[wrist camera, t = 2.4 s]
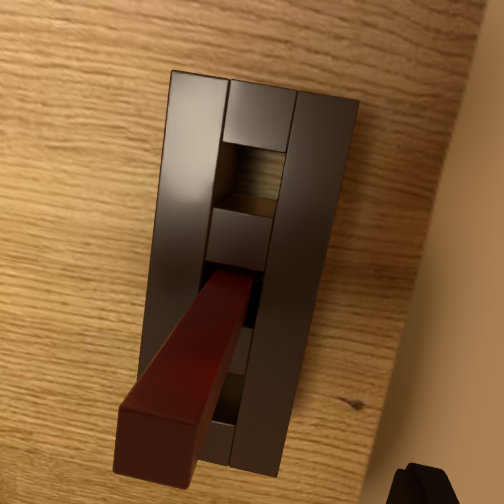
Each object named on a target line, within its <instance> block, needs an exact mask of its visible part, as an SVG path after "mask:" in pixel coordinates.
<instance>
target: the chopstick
mask: <svg viewBox="0 0 504 504" xmlns="http://www.w3.org/2000/svg"><path fill="white" fill-rule="evenodd" d="M259 272H260V271H255V270H250V269H245V268H240V267H235V266H230V265H224V264H219V266H218V267H217V269H216V270H215V271H214V273H213V274H212V276H211V277H210V279H209V280H208V281H207V283H206V284H205V286H204V287H203V288H202V290H201V291H200V293H199V294H198V296H197V297H196V298H195V300H194V301H193V303H192V304H191V305H190V307H189V308H188V310H187V311H186V313H185V314H184V315H183V317H182V318H181V320H180V321H179V322H178V324H177V325H176V327H175V328H174V330H173V331H172V332H171V334H170V335H169V337H168V338H167V339H166V341H165V342H164V344H163V345H162V347H161V348H160V349H159V351H158V352H157V354H156V355H155V356H154V358H153V359H152V361H151V362H150V364H149V365H148V366H147V368H146V369H145V371H144V372H143V373H142V375H141V376H140V378H139V379H138V381H137V382H136V383H135V385H134V386H133V388H132V389H131V390H130V392H129V393H128V395H127V396H126V397H125V399H124V400H123V402H122V403H121V405H120V406H119V410H118V420H117V430H116V440H115V450H114V460H113V472H114V473H115V474H119V475H124V476H128V477H132V478H136V479H141V480H145V481H149V482H153V483H158V484H162V485H166V486H170V487H175V488H179V489H183V490H186V489H187V488H188V487H189V485H190V482H191V479H192V476H193V473H194V470H195V467H196V464H197V461H198V458H199V455H200V452H201V449H202V446H203V443H204V440H205V437H206V434H207V431H208V428H209V425H210V422H211V419H212V416H213V413H214V410H215V407H216V404H217V401H218V398H219V395H220V392H221V389H222V386H223V383H224V380H225V377H226V374H227V371H228V368H229V365H230V362H231V359H232V356H233V353H234V350H235V347H236V344H237V341H238V338H239V335H240V332H241V329H242V326H243V323H244V320H245V317H246V314H247V311H248V308H249V305H250V302H251V299H252V296H253V293H254V290H255V288H256V285H257V282H258V278H259Z"/></svg>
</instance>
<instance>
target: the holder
mask: <svg viewBox="0 0 504 504" xmlns="http://www.w3.org/2000/svg"><path fill="white" fill-rule="evenodd" d="M359 104H360V101H359V100H356V99H350V98H343V97H337V96H331V95H325V94H319V93H313V92H307V91H301V90H299V91H298V92H297V90H295V89H289V88H283V87H277V86H271V85H265V84H259V83H253V82H247V81H240V80H234V79H231V80H230V79H227V78H221V77H215V76H209V75H203V74H197V73H191V72H185V71H179V70H172V71H171V75H170V84H169V93H168V102H167V111H166V120H165V129H164V138H163V147H162V156H161V165H160V174H159V183H158V192H157V202H156V211H155V220H154V229H153V238H152V247H151V256H150V265H149V274H148V283H147V292H146V301H145V310H144V319H143V328H142V337H141V346H140V355H139V364H138V373H137V381H138V379H139V378H140V376H141V375H142V373H143V372H144V371H145V369H146V368H147V366H148V365H149V364H150V362H151V361H152V359H153V358H154V356H155V355H156V354H157V352H158V351H159V349H160V348H161V347H162V345H163V344H164V342H165V341H166V339H167V338H168V337H169V335H170V334H171V332H172V331H173V330H174V328H175V327H176V325H177V324H178V322H179V321H180V320H181V318H182V317H183V315H184V314H185V313H186V311H187V310H188V308H189V307H190V305H191V304H192V303H193V301H194V300H195V298H196V297H197V296H198V294H199V293H200V291H201V290H202V288H203V287H204V286H205V284H206V283H207V281H208V280H209V279H210V277H211V276H212V274H213V273H214V271H215V270H216V269H217V267H218V266H219V264H224V265H230V266H235V267H240V268H245V269H250V270H255V271H260V272H264V276H263V282H262V287H261V289H259V288H255V290H254V293H253V296H252V299H251V302H250V305H249V308H248V311H247V314H246V317H245V320H244V323H243V326H242V329H241V332H240V335H239V338H238V341H237V344H236V347H235V350H234V353H233V356H232V359H231V362H230V365H229V368H228V371H227V374H226V377H225V380H224V383H223V386H222V389H221V392H220V395H219V398H218V401H217V404H216V407H215V410H214V413H213V416H212V419H211V422H210V425H209V428H208V431H207V434H206V437H205V440H204V443H203V446H202V449H201V452H200V455H199V458H198V460H202V461H206V462H210V463H215V464H219V465H223V466H228V465H229V467H231V468H236V469H240V470H244V471H249V472H253V473H257V474H262V475H266V476H270V477H275V478H277V476H278V471H279V467H280V462H281V458H282V453H283V448H284V444H285V439H286V435H287V430H288V426H289V421H290V417H291V412H292V408H293V403H294V399H295V394H296V389H297V385H298V380H299V376H300V371H301V367H302V362H303V358H304V353H305V349H306V344H307V340H308V335H309V331H310V326H311V321H312V317H313V312H314V308H315V303H316V299H317V294H318V290H319V285H320V281H321V276H322V272H323V267H324V262H325V258H326V253H327V249H328V244H329V240H330V235H331V231H332V226H333V222H334V217H335V213H336V208H337V204H338V199H339V194H340V190H341V185H342V181H343V176H344V172H345V167H346V163H347V158H348V154H349V149H350V145H351V140H352V135H353V131H354V126H355V122H356V117H357V113H358V108H359ZM240 145H241V146H246V147H252V148H258V149H264V150H269V151H275V152H281V153H286V156H285V162H284V167H283V173H282V178H281V184H280V189H279V195H278V200H277V201H274V200H268V199H263V198H257V197H252V196H246V195H241V194H236V193H233V186H234V180H235V174H236V167H237V161H238V154H239V148H240ZM232 193H233V194H232ZM264 270H265V271H264Z"/></svg>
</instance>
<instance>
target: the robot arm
mask: <svg viewBox="0 0 504 504" xmlns="http://www.w3.org/2000/svg"><path fill="white" fill-rule="evenodd" d="M386 504H459V501H458V499H457V497H456V495H455V492H454V490H453V488H452V486H451V483H450V481H449V479H448V477H447V475H446V473H445V472H444V471H443V470H442V469H439V468H434V467H429V466H425V465H421V464H416V463H409V464H408V465H407V467H406V469H405V470H403V469H397V471H396V473H395V475H394V479H393V482H392V485H391V489H390V493H389V495H388V499H387V502H386Z"/></svg>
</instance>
